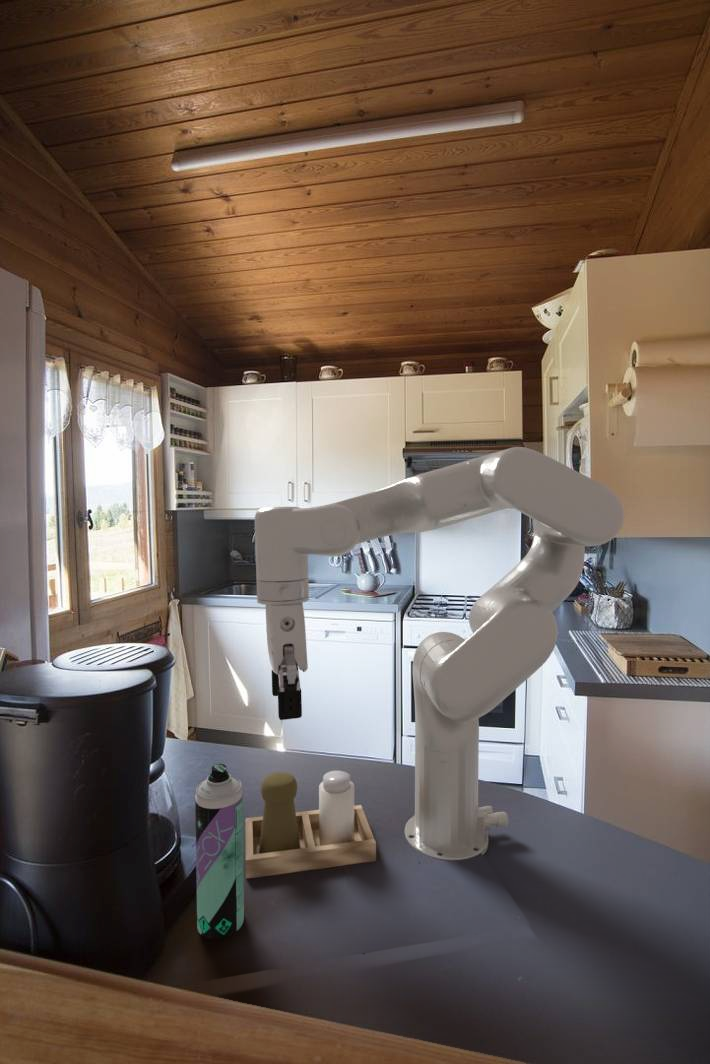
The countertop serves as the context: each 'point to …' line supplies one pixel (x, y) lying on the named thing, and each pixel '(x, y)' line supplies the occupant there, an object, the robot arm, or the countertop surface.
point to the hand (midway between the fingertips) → (286, 705)
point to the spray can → (219, 854)
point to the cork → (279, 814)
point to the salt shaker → (336, 809)
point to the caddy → (308, 847)
